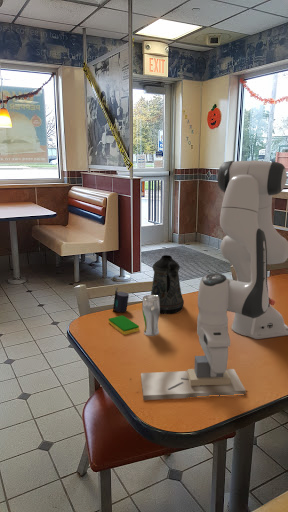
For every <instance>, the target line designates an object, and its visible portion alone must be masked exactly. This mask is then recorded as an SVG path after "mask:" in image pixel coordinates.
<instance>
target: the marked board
mask: <svg viewBox="0 0 288 512" xmlns="http://www.w3.org/2000/svg"><path fill="white" fill-rule="evenodd" d="M226 370H227V372H228V374H229V376H230V378H231V383H230V384H228V385H201V386H190V382H189V379H188V376H187V370H183V371H182V370H181V371H179V370H178V371H161V372H158V371H157V372H141V373H140V379H141V380H140V383H141V390H142V398H143V399H142V400H143V401H150V400H152V401H153V400H154V401H155V400H172V399H173V400H174V399H175V400H177V399H191V398H190V397H197V396H209V395H219V396H218V397H221V396H220V395H234V394H246V392H247V390H246V388H245V386H244V385H243V383H242V381H241V380H240V377H239V376H238V373H237V372H236V370H235V369H234V368H227V369H226ZM246 395H247V394H246ZM188 397H189V398H188ZM197 398H198V397H197Z"/></svg>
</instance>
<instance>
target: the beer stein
mask: <svg viewBox="0 0 288 512" xmlns="http://www.w3.org/2000/svg"><path fill="white" fill-rule="evenodd" d="M180 268H181V266H180V264H179V263H178V262H177V261H176V260H175V259H173V257H172V256H171V255H170V254H165V255H161V258H159V260H157V261H155V263H154V264H152V270H153V278H152V286H151V292H150V295H157V296H159V299H160V314H159V315H173V314H179V313H180V312H181V311H182V310H184V309H183V308H184V303H185V300H184V297H183V294H182V288H181V283H180V276H179V271H180Z"/></svg>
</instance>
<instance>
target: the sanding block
mask: <svg viewBox="0 0 288 512" xmlns="http://www.w3.org/2000/svg"><path fill="white" fill-rule="evenodd" d="M210 368H211V367H210V365H209V363H208V360H207V358H206V356H205V355H194V368H188V369H187V370H186V371H187V376H188V379H189V382H190V386H201V385H228V384H230V383H231V378H230V376H229V374H228V372H227V370H226V371H225V373H220V374H217V375H216V377H211V376H210Z"/></svg>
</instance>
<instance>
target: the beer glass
mask: <svg viewBox="0 0 288 512" xmlns="http://www.w3.org/2000/svg"><path fill="white" fill-rule="evenodd" d="M141 309H142V316H143V322H144V328H143V329H144V330H143V334H144V335H145V336H147V337H155V336H158V335H159V334H160V330H159V320H160V315H161V314H160V299H159V296H157V295H151V294H146V295H144V296H142V307H141Z"/></svg>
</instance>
